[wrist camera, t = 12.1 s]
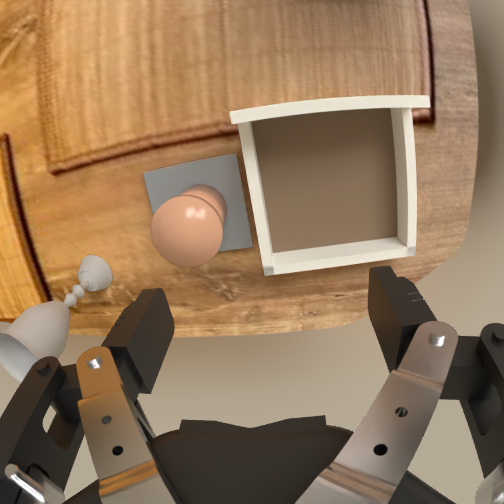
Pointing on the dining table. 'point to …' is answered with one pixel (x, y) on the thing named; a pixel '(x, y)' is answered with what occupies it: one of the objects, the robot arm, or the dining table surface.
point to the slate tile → (217, 176)
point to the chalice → (48, 322)
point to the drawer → (331, 180)
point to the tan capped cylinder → (190, 226)
